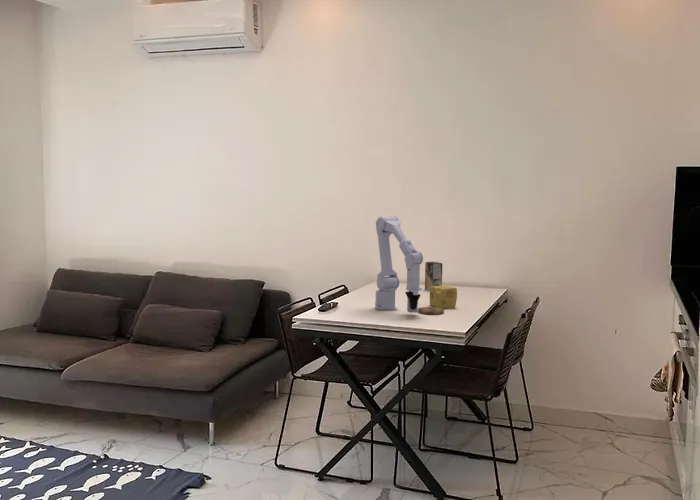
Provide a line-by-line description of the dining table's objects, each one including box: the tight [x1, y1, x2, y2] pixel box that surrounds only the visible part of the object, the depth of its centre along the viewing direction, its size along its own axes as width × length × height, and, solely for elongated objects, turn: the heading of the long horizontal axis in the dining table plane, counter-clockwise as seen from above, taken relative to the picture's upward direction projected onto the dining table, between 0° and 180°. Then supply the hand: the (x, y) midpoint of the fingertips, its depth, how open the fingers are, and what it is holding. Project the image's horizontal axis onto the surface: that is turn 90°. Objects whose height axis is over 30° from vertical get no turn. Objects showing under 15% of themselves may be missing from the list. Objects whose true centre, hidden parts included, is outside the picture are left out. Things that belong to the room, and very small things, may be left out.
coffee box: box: [424, 261, 443, 292], centre depth 379 cm, size 9×6×16 cm
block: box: [406, 298, 419, 313], centre depth 305 cm, size 4×4×6 cm
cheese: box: [429, 285, 458, 309], centre depth 329 cm, size 10×11×10 cm
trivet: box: [417, 306, 445, 316], centre depth 314 cm, size 12×12×2 cm
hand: (412, 308), depth 306 cm, fingers closed on block, 4 cm apart
